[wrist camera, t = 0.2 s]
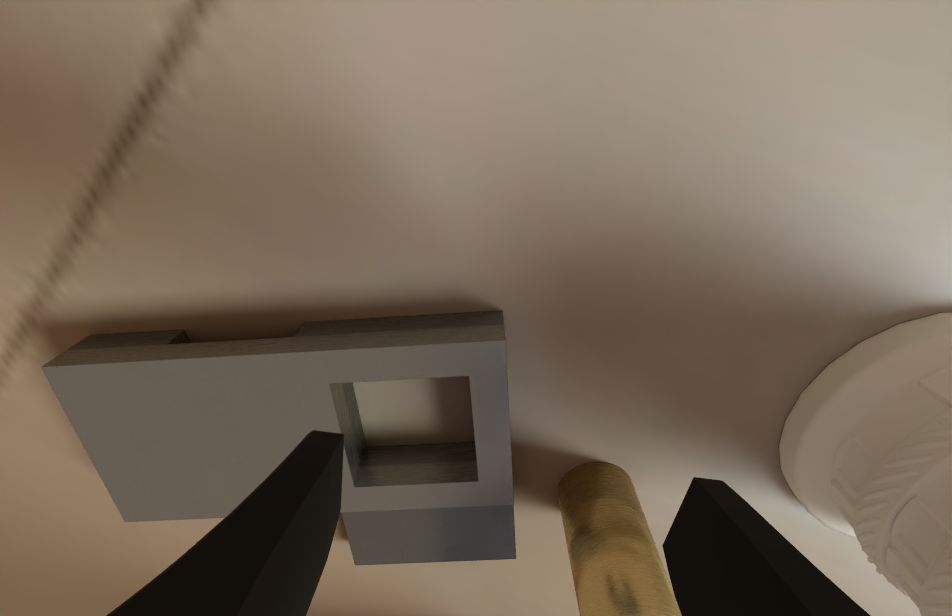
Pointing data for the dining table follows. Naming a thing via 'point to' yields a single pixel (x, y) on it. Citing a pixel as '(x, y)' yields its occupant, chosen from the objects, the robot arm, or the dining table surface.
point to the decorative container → (883, 455)
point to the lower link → (420, 529)
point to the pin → (612, 546)
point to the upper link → (271, 415)
